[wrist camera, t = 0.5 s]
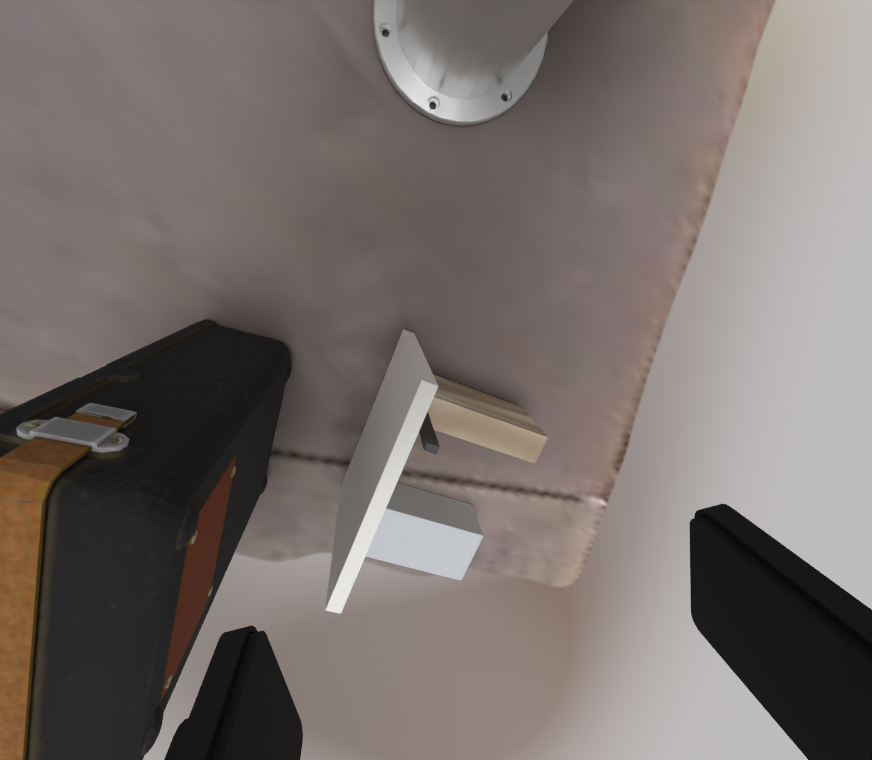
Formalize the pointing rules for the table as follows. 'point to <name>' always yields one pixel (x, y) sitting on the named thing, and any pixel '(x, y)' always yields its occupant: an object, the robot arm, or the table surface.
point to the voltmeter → (124, 534)
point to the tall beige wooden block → (480, 422)
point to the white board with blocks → (397, 489)
